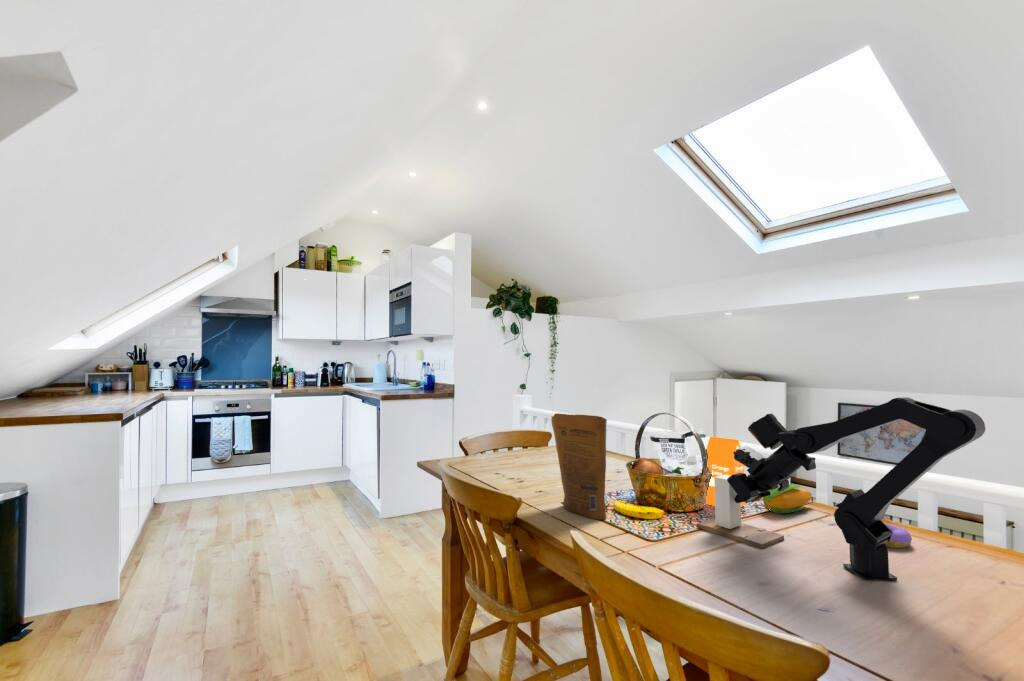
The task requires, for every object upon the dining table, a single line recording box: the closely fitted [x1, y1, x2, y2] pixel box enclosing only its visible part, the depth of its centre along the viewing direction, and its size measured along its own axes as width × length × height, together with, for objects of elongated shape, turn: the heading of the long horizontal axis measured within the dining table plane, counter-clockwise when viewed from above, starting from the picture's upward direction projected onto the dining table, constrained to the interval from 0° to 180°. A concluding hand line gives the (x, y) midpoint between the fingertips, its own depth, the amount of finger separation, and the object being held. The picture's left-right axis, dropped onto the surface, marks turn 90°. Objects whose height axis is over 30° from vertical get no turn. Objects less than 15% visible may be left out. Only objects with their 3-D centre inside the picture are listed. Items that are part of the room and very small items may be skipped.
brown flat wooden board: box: [696, 517, 785, 550], centre depth 118 cm, size 17×10×1 cm, turn 34°
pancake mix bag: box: [550, 412, 608, 520], centre depth 135 cm, size 7×19×28 cm, turn 39°
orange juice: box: [706, 436, 746, 507], centre depth 142 cm, size 8×9×20 cm
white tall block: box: [714, 474, 742, 529], centre depth 121 cm, size 4×5×12 cm
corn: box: [761, 484, 813, 515], centre depth 137 cm, size 7×8×20 cm
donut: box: [884, 523, 913, 549], centre depth 113 cm, size 10×9×5 cm
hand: (736, 501), depth 119 cm, fingers closed, pressing on white tall block
